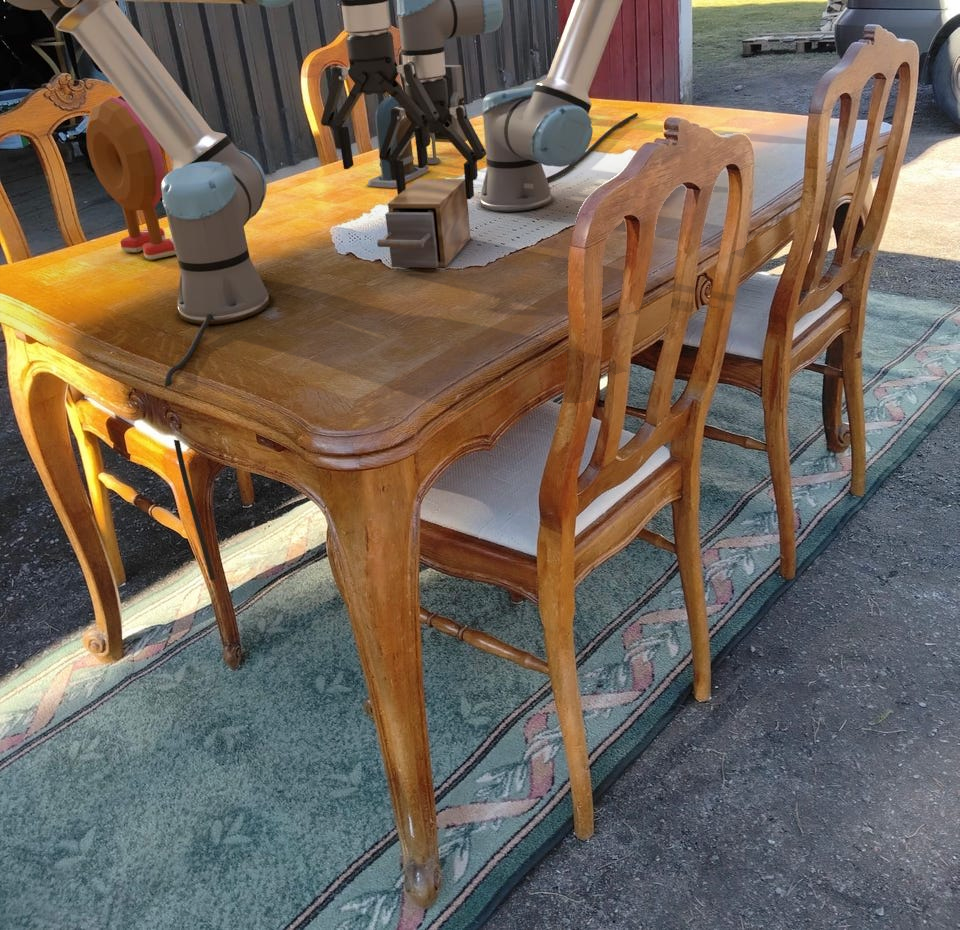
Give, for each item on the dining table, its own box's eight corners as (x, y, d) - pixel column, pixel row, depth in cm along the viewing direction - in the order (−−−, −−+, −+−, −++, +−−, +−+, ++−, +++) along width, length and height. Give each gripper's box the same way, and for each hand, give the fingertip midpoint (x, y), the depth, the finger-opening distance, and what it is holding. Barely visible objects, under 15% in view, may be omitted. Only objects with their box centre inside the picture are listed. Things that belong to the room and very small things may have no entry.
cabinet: (445, 267, 176) (439, 203, 170) (395, 265, 179) (387, 203, 173) (470, 238, 190) (465, 178, 184) (423, 237, 192) (417, 178, 187)
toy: (206, 251, 195) (170, 95, 179) (161, 266, 188) (121, 105, 173) (151, 235, 208) (114, 87, 192) (108, 248, 202) (66, 97, 186)
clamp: (395, 188, 226) (384, 92, 216) (364, 185, 230) (352, 91, 219) (468, 152, 252) (461, 65, 241) (439, 150, 256) (431, 64, 245)
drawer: (426, 279, 169) (420, 224, 164) (380, 278, 171) (373, 223, 166) (460, 240, 186) (456, 190, 181) (418, 240, 188) (413, 190, 183)
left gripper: (449, 25, 155) (461, 160, 165) (306, 32, 161) (326, 162, 172) (435, 31, 149) (448, 171, 159) (287, 39, 155) (310, 173, 166)
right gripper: (498, 73, 173) (504, 192, 183) (368, 76, 179) (381, 191, 190) (486, 80, 166) (494, 203, 177) (352, 83, 173) (367, 201, 184)
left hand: (385, 166), depth 166 cm, fingers open, 13 cm apart
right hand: (436, 197), depth 184 cm, fingers open, 13 cm apart
